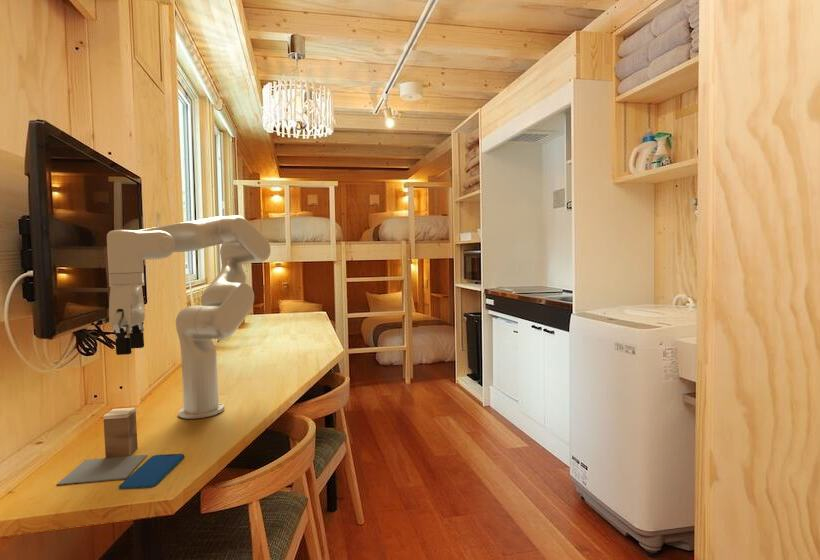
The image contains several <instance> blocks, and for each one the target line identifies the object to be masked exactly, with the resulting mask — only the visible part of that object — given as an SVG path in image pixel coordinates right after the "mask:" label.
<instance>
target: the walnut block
mask: <svg viewBox="0 0 820 560" xmlns="http://www.w3.org/2000/svg"><path fill="white" fill-rule="evenodd" d="M136 409H137V408H136V407H124V408H123V407H122V408H112V409H111V410H109V411H108V412H107V413H105V414H104V415H103V417H102V418H103V431H104V432H103V435H104V451H105V454H104V455H105V458H113V457H125V456H133V453H134V452H136V451H137V450H138V446H139V445H138V429H137V411H136Z"/></svg>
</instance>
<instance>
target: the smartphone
mask: <svg viewBox="0 0 820 560" xmlns="http://www.w3.org/2000/svg"><path fill="white" fill-rule="evenodd" d="M184 459H185V454H184V453H174V454H173V453H171V454H170V453H169V454H155V455H152V456H150V457H149V458H148V459H147V460H146V461H145V462H144V463H142V465H140V467H137V468H136V469H135V470H134V471H133V472H132V473H131V474H130V475H129V476H128V478H127V479H124V481H123V482H122V483H120V484H119V485H118V488H119V489H120V490H131V489H152V488H154V487H156V486H158V485H159V484H160V483H161V482H162V481H163V479H165V478H166V477H167V476H168V475H169V474H170V473H171V472H172V471H173V470H174V469H175V468H176V467H177V466H178V465H179V464H180V463H181V462H182V461H183V460H184Z"/></svg>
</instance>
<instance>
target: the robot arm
mask: <svg viewBox="0 0 820 560" xmlns="http://www.w3.org/2000/svg"><path fill="white" fill-rule="evenodd" d="M218 245H220V249H219V254H220V255H219V256H220V263H221V268H220V269H221V270H220V272H219V273H218V274H217V275H216V276H215V278H214V279H213V280H212V282H211V283H210V284H209V285H208V286H207V287H206V289H204V291H203V293H202V294H201V298H200V304H201V305H190V306H186V307H184V308H182V309H181V310H180V311H179V312H178V313H177V316H176V319H175V329H176V332H177V333H176V334H177V335H178V336H177V337H178V340H179V344H180V346H179V347H180V354H181V355H180V358H181V378H182V379H181V381H182V400H183V402H182V403H183V405H182V406H183V407H181V408H180V409H178V411H177V416H178V417H179V418H182V419H187V420H188V419H189V420H194V419H203V418H208V417H213V416H216V415H218V413H219V414H221V413H222V412H223V411H225V405H224V403H222V402H219V382H218V379H219V378H218V358H217V354H218V353H217V348H216V346H215V343H214V342H213V341H214V340H224V339H225V340H226V339H228V338H229V337H232V336H233V334H234V333H235V332H236V331H237V330H238V328H239V327H240V326H241V324H242V323H243V322H244V320H245V318H247V316H248V315H249V313H250V312H251V311H252V308H253V305H254V302H255V293H254V290H253V288H252V287H251V286H250V285H249V284H248V283H246V282H247V276H246V273H245V271H244V267H243V265H242V264H244V263H245V264H248V263H249V264H251V263H252V264H253V263H255V264H256V263H263V262H265V261H267V260H268V258H270V256H271V244H270V242H269V241H268V239H267V238H266V237H265V236H264V235H263V233H262V232H261V231H259V230H258V229H257V227H255V226H254V225H253V224H252V223H251V222H250V221H249V220H247V219H246V218H245V217H243V216H241V215H223V216H222V215H221V216H212V217H207V218H206V217H205V218H200V219H196V220H189V221H184V222H183V221H182V222H177V223H173V224H167V225H161V226H155V227H154V226H153V227H150V228H143V229H137V230H135V229H134V230H132V229H116V230H114V229H113V230H110V231H108V233H107V234H106V249H107V250H106V251H107V265H108V266H107V267H108V268H107V269H108V283H109V284H108V286H109V288H110V291H109V301H108V303H109V305H108V308H109V309H108V311H109V313H108V317H109V324H108V325H109V327H110V328H113V332H114V340H115V341H114V342H115V354H116V356H120V355H121V356H123V355H125V356H126V355H131V354H132V349H142V348H143V349H144V347H145V337H144V330H145V329H144V324H145V323H144V321H145V317H146V316H145V301H144V296H143V295H144V293H143V286H145V272H144V271H145V269H144V267H145V266H144V260H163V259H165V258H168V257H170V256H171V255H172V254H173V253H185V252H194V251H198V250H202V249H206V248H209V247H214V246H218Z"/></svg>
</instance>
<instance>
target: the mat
mask: <svg viewBox="0 0 820 560" xmlns="http://www.w3.org/2000/svg"><path fill="white" fill-rule="evenodd" d="M146 457H148V454H139V455H137V454H136V455H131V456H125V457H113V458H106V457H104V458H102V457H101V458H92V459H84V460H83V461H82V462H80V464H78V466H76V467H75V468H74V469H73V470H71V471H70V472H69V473H68V474H66V475H65V476H64V477H63V478H62V479H61V480H59V481H58V482H57V483H56V485H57V486H65V485H64V484H68V485H75V484H74V483H79V484H88V483H87V482H90V483H98V482H99V483H100V482H109V481H121V480H126V479H127V478H128V477H129V476H131V475H132V474H133V473H134V472H135V471H136V470H137V469H138V468H139V467H138V466H140V464H141V463H142V462H143V461H144V460H145V459H146Z"/></svg>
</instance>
